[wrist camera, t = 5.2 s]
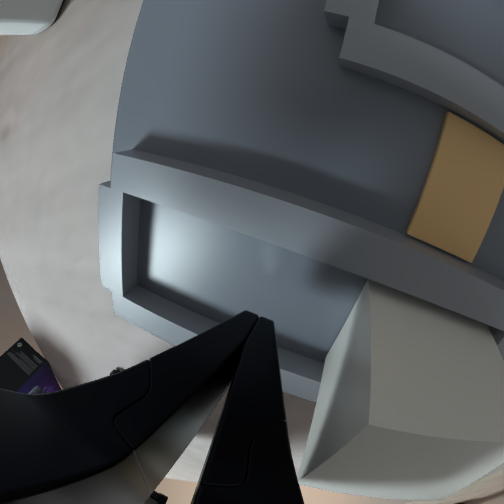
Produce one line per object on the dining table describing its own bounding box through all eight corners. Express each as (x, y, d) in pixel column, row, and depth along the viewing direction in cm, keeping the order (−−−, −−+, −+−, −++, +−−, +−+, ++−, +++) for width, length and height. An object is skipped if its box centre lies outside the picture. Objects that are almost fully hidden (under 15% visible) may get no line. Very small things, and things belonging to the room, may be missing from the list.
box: (84, 426, 33) (43, 473, 22) (56, 403, 34) (16, 446, 24) (50, 362, 25) (-12, 423, 15) (21, 335, 26) (-38, 385, 16)
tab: (434, 388, 9) (442, 499, 4) (325, 356, 10) (294, 483, 5) (486, 323, 7) (529, 441, 3) (367, 277, 8) (368, 424, 4)
